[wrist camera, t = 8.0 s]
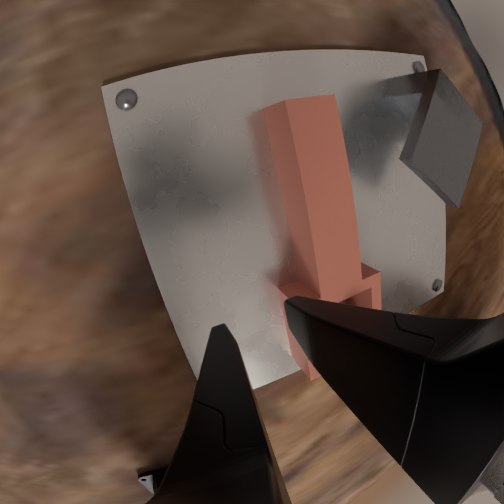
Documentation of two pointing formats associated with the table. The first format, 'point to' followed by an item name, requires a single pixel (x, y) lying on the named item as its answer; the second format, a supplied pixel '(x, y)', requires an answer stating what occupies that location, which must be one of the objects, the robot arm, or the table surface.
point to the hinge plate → (265, 191)
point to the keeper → (436, 131)
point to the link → (318, 209)
